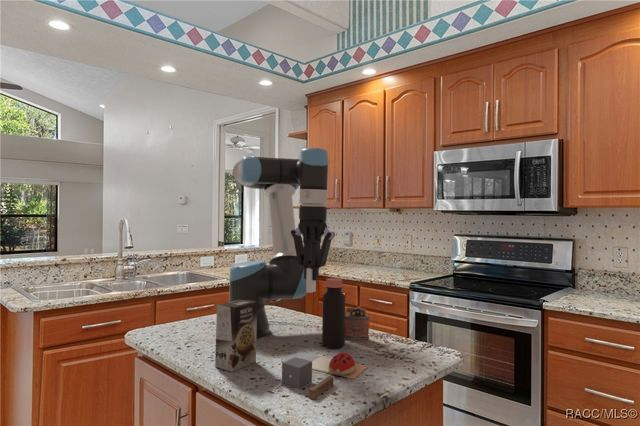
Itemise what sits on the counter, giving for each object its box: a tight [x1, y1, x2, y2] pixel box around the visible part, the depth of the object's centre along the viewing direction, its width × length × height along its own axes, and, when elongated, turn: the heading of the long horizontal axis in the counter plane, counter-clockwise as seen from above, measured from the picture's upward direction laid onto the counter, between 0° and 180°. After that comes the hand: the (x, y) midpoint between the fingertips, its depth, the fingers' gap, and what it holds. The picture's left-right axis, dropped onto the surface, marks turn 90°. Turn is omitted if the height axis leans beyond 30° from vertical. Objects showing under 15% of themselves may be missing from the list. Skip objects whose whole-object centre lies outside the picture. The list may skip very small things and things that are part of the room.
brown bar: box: [308, 375, 335, 400], centre depth 92 cm, size 1×9×2 cm, turn 150°
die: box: [281, 357, 313, 390], centre depth 96 cm, size 5×5×5 cm
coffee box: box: [214, 299, 257, 372], centre depth 108 cm, size 9×6×16 cm
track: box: [281, 351, 369, 379], centre depth 109 cm, size 21×9×1 cm, turn 60°
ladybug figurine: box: [329, 351, 357, 376], centre depth 104 cm, size 7×10×4 cm
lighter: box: [345, 306, 370, 342], centre depth 132 cm, size 8×3×10 cm, turn 84°
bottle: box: [321, 277, 346, 350], centre depth 125 cm, size 7×7×20 cm
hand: (310, 291), depth 114 cm, fingers closed
